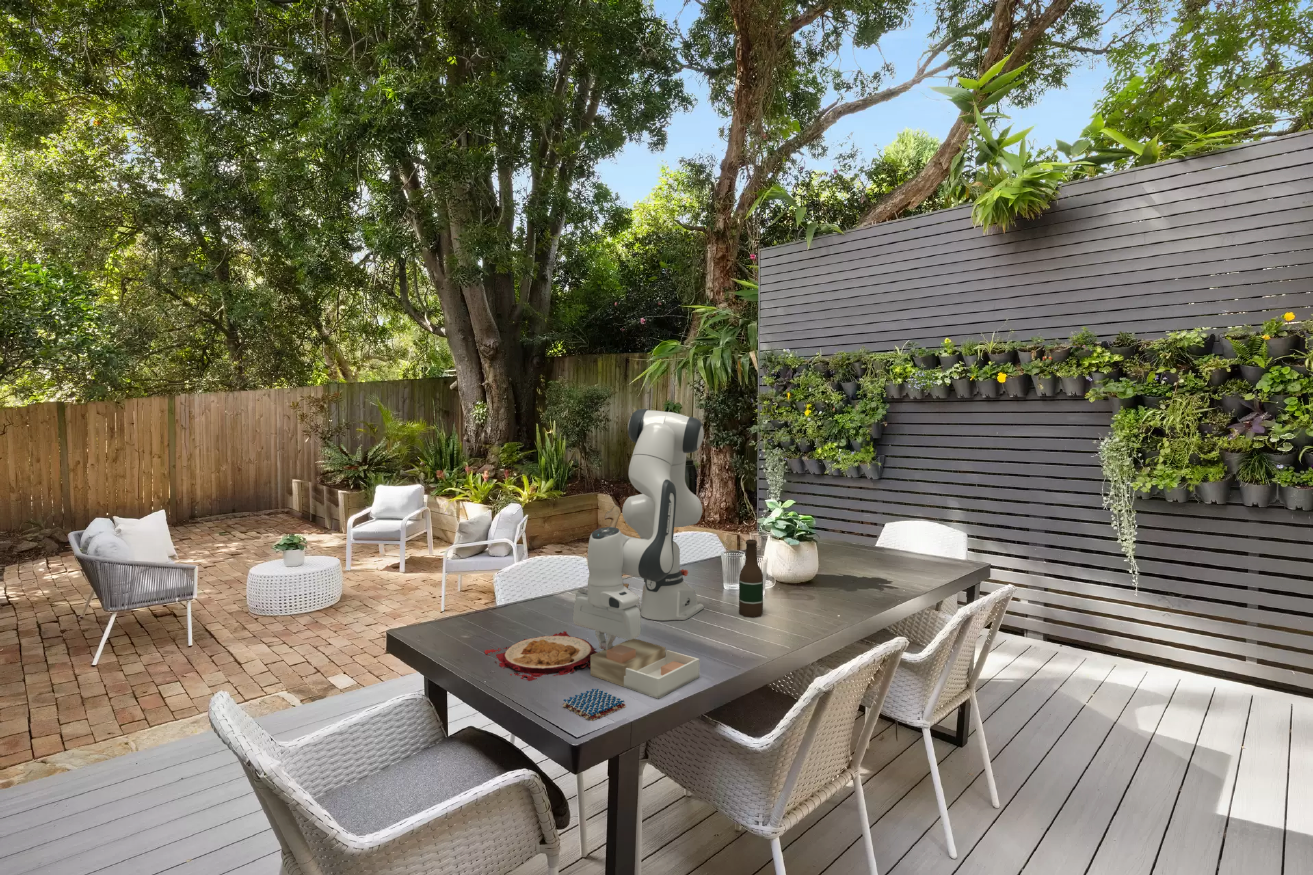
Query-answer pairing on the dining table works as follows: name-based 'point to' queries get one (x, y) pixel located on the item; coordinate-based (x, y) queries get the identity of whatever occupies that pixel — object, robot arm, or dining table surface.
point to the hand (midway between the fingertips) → (605, 649)
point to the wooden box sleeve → (617, 670)
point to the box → (658, 685)
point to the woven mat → (594, 704)
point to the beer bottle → (751, 584)
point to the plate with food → (546, 655)
